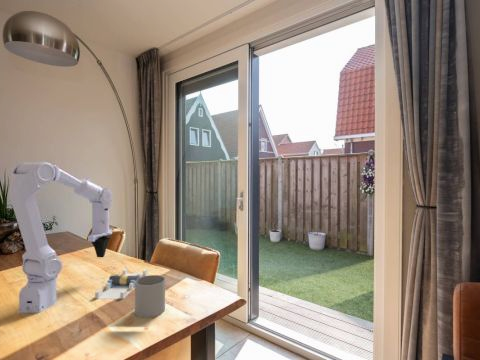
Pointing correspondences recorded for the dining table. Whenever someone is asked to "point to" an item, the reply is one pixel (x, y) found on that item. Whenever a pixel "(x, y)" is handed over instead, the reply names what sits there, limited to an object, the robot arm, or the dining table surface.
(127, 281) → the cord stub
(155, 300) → the cup
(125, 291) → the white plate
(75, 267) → the dining table surface
